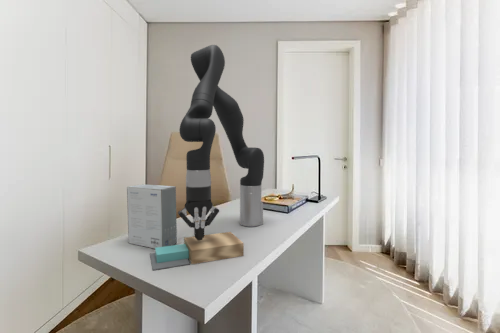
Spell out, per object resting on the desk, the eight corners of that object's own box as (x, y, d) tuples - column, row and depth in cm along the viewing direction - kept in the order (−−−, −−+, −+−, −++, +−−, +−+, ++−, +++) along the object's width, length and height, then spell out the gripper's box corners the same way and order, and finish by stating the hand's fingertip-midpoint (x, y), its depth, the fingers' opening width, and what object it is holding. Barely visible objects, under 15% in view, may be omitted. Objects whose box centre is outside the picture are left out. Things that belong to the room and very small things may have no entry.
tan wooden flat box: (230, 243, 95) (230, 231, 95) (243, 255, 84) (243, 243, 84) (184, 249, 89) (184, 237, 89) (191, 264, 78) (191, 250, 78)
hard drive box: (177, 243, 95) (177, 186, 93) (162, 250, 88) (161, 189, 86) (144, 236, 101) (143, 183, 100) (127, 243, 94) (125, 186, 93)
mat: (182, 249, 89) (182, 248, 89) (189, 264, 78) (189, 263, 78) (149, 254, 85) (149, 253, 85) (152, 270, 74) (152, 269, 74)
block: (185, 251, 87) (185, 243, 87) (188, 258, 81) (188, 250, 81) (155, 255, 83) (155, 247, 83) (157, 263, 78) (156, 254, 78)
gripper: (216, 181, 90) (216, 233, 91) (174, 183, 84) (175, 238, 86) (223, 184, 83) (223, 240, 84) (178, 187, 78) (179, 246, 79)
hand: (199, 239), depth 85 cm, fingers closed
